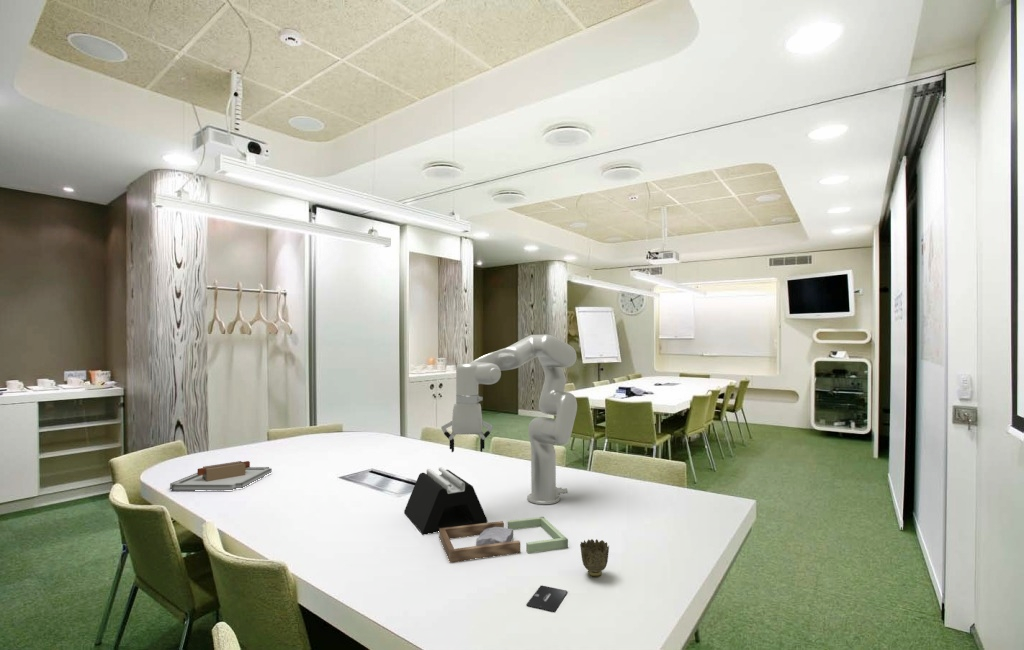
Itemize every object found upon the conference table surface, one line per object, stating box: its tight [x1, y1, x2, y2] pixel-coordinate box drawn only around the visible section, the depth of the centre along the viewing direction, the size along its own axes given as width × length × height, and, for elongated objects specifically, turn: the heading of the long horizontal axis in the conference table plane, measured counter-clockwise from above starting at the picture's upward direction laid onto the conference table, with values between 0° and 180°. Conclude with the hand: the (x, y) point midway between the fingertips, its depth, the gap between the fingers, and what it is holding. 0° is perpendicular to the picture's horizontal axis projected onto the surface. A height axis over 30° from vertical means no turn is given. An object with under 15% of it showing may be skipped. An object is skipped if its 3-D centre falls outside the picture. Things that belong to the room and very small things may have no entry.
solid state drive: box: [525, 584, 568, 613], centre depth 116 cm, size 7×10×1 cm
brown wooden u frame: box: [438, 520, 521, 563], centre depth 146 cm, size 20×18×3 cm
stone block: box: [475, 527, 514, 546], centre depth 148 cm, size 12×5×10 cm
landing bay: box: [507, 516, 569, 554], centre depth 152 cm, size 12×20×2 cm, turn 18°
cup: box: [579, 538, 610, 579], centre depth 127 cm, size 8×7×8 cm
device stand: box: [403, 466, 489, 535], centre depth 170 cm, size 22×22×15 cm
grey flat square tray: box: [169, 460, 273, 492], centre depth 216 cm, size 30×30×8 cm
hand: (467, 451), depth 165 cm, fingers open, 9 cm apart
